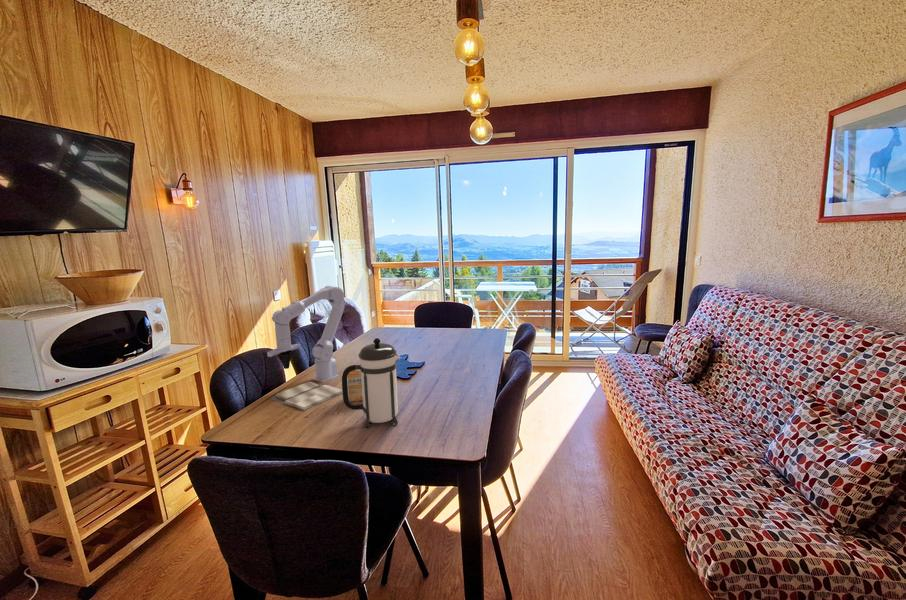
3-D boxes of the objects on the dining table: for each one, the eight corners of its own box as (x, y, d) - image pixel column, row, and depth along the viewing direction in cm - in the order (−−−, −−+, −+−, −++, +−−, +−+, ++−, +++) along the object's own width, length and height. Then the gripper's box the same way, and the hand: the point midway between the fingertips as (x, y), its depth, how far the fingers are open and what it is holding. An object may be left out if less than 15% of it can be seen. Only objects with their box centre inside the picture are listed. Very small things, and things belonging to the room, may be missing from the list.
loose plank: (309, 383, 163) (309, 381, 163) (319, 387, 160) (319, 385, 160) (276, 396, 150) (276, 394, 150) (286, 401, 146) (286, 398, 146)
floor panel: (312, 383, 166) (312, 380, 166) (345, 393, 154) (345, 389, 154) (270, 399, 149) (270, 396, 149) (303, 412, 137) (303, 408, 137)
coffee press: (382, 406, 141) (377, 330, 136) (411, 417, 131) (407, 336, 126) (343, 423, 128) (337, 340, 123) (372, 438, 117) (366, 348, 113)
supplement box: (348, 402, 145) (346, 371, 143) (348, 397, 149) (346, 367, 147) (369, 399, 147) (367, 368, 145) (369, 395, 151) (367, 365, 149)
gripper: (292, 333, 165) (295, 362, 167) (261, 340, 153) (265, 371, 155) (302, 335, 162) (305, 364, 164) (271, 342, 150) (274, 374, 152)
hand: (286, 368), depth 159 cm, fingers closed
